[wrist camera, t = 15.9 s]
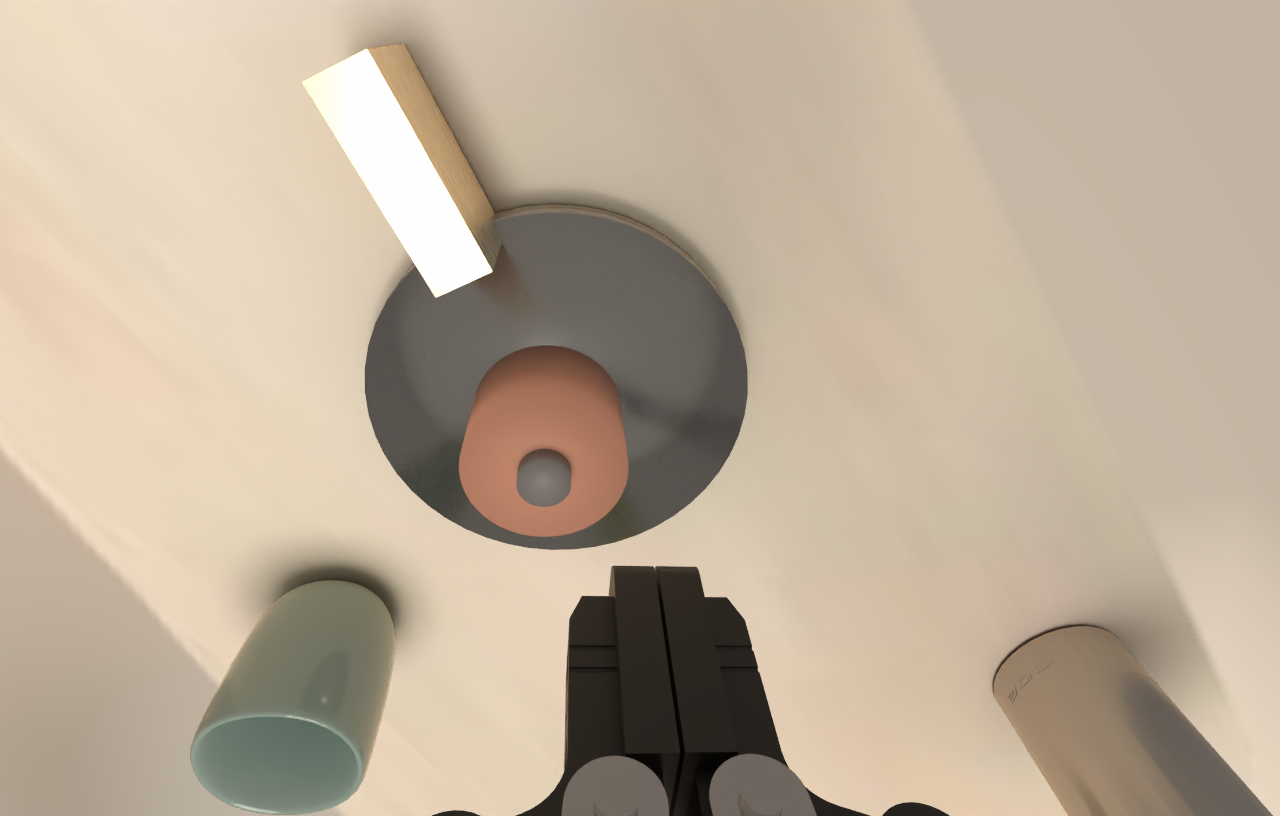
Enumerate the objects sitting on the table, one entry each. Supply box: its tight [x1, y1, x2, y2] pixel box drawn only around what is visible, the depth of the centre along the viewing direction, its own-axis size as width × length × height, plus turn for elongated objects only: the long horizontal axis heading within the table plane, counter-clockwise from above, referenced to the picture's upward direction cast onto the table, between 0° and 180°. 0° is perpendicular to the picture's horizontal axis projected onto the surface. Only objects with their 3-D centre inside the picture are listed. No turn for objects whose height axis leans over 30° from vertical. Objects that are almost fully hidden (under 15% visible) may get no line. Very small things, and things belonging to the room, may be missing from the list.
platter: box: [302, 44, 747, 550], centre depth 30 cm, size 18×25×6 cm
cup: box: [190, 580, 395, 815], centre depth 36 cm, size 8×8×10 cm
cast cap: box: [459, 345, 628, 537], centre depth 31 cm, size 7×7×6 cm
